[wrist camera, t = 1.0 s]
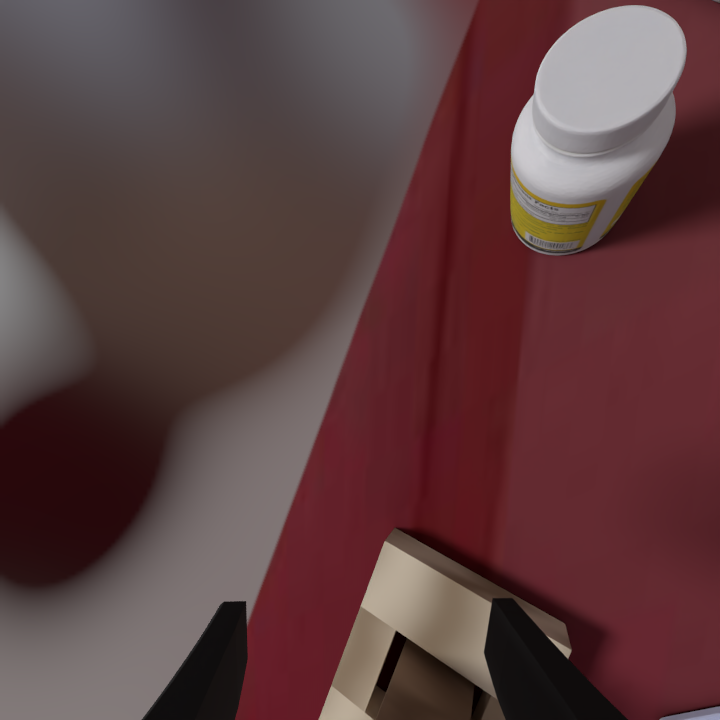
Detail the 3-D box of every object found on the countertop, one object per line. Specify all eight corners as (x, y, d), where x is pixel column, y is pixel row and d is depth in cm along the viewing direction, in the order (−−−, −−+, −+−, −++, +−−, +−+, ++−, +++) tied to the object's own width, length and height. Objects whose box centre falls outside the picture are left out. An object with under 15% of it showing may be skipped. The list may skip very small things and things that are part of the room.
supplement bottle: (590, 143, 20) (665, -61, 11) (638, 226, 19) (767, 79, 9) (494, 196, 21) (487, 60, 12) (533, 274, 20) (556, 188, 11)
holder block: (565, 623, 19) (571, 650, 17) (472, 844, 20) (468, 892, 18) (394, 527, 22) (385, 540, 21) (324, 717, 24) (308, 746, 22)
